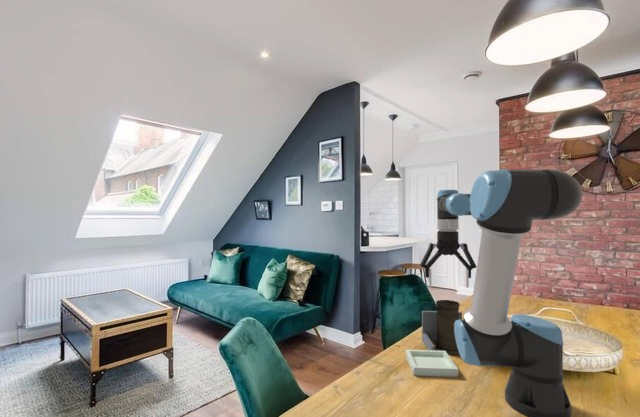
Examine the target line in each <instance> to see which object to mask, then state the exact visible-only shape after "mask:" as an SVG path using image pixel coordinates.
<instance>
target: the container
mask: <svg viewBox="0 0 640 417" xmlns="http://www.w3.org/2000/svg"><path fill="white" fill-rule="evenodd" d="M435 305H436V308H437V309H436V311H437V340H436V342H435V345H434V346H435V350H438V351H446V352H447V354H448V355H449V356H450V355H452V356H453V355H454V356H455V355H460V354H459V351H458V348H457V344H456V339H455V333H454V323H455V321H456V320H459V314H458V312H460V311H459V310H460V306H461V304H460V303H459V302H458V301H455V300H452V299H451V300H450V299H440V300H439V299H438V300H436V301H435Z"/></svg>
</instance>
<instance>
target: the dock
mask: <svg viewBox="0 0 640 417" xmlns="http://www.w3.org/2000/svg"><path fill="white" fill-rule="evenodd" d="M458 314H459V319H461V320H463V312H462V311H458ZM436 340H437V310H421V342H422V343H423V345H424V346H425V348H426V350H436V347H435V346H436V345H434V343H436Z"/></svg>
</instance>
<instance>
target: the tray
mask: <svg viewBox="0 0 640 417" xmlns="http://www.w3.org/2000/svg"><path fill="white" fill-rule="evenodd" d="M405 358H406V361H407V363H408V366H409V368H410V370H411V372H412V375H413V376H418V377H419V376H420V377H442V378H443V377H447V378H459V373H460V372H459V367H458V366H457V365H456V364H455V362H454V361H453V359H452V358H451V357H450V355H449V354H447V352H446V351H438V350H436V349H435V350H427V349H406V348H405Z"/></svg>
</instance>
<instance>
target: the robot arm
mask: <svg viewBox="0 0 640 417" xmlns="http://www.w3.org/2000/svg"><path fill="white" fill-rule="evenodd" d="M436 194H437V196H436V202H437V203H436V205H437V206H436V213H437V214H436V215H437V226H436V228H437V232H436V233H437V234H436V238H437V241H436V243H432V242H429V243H428V245H427V246H428V247H427V250H426V252H425V254H424V255H423V257H422V259H421V262H420V264H419V266H420V267H421V268H423V269H424V276H425V278H426V279H427V286H428V287H429V288H431V287H432V269H431V267H432V266H433V265H434V264H435V263H436V262H437V260H438V259H439V258H440V257H442V256H455V257H456V258H457V259H458V260H459V262H460V263H461V264H462V265H463V267H464V268H463V286H464V287H465V288H468V289H469V279H471V278H472V271H473V269H476V272H475V277H474V284H473V290H472V291H473V292H472V299H471V305H470V307H468V308H467V309H466V310H465V311H464V314H463V318H462V320H461V319H459V320H456V321H455V323H454V333H455V339H456V344H457V348H458V351H459V354H458V355H459V356H460V358H461V360H462V362H464V363H465V364H466V365H469V366H475V367H476V366H477V367H502V368H503V367H504V368H505V367H506V368H507V367H508V368H511V372H510V374H509V377H508V380H507V382H506V383H505V384H506V385H505V388H504V400H505V402H506V403H507V404H508V406H510V407H511V408H512V409H513V410H515V411H517V412H519V413H521V414H522V415H525V416H527V417H572V404H571V401H570V398H569V396H568V393H567V390H566V387H565V384H564V378H563V377H564V375H563V374H564V373H563V372H564V368H563V367H564V366H563V364H564V359H563V358H564V355H563V353H564V349H563V348H564V339H563V332H562V329H561V328H560V326H558V325H557V324H555V323H554V322H552V321H549V320H546V319H543V318H541V317H537V316H532V315H528V314H522V313H521V314H520V313H517V314H512V315H511V317H508V312H509V308H510V302H511V296H512V291H513V286H514V280H515V275H516V270H517V264H518V259H519V255H520V254H519V253H520V248H521V242H522V237H523V236H525V235H527V234H529V233H531V230H532V226H533V221H542V220H543V221H546V220H547V221H549V220H556V219H557V220H558V219H561V218H565V217H567V216H569V215H571V214H572V213H574V212H575V211H576V210H577V208H578V207H579V206H580V204H581V202H582V199H583V190H582V187H581V185H580V183H579V182H578V180H577V179H576V178H574V177H573V176H572V175H570V174H569V173H567V172H564V171H561V170H557V169H505V168H502V169H499V170H498V169H497V170H495V169H494V170H487V171H484V172H482V173H481V174H480V175H479V176H478V177H477V178H476V180H475V181H474V182H473V185H472V188H471V191H470V193H462V192H461V193H459V191H458V190H457V189H440V190H438V191H437V193H436ZM461 216H472V217H473V218H474V219H475V220H476V225H477V227H479V228H480V230H481V237H480V243H479V249H478V250H479V251H478V255H477V256H478V257H477V262H476V263H475V260H474V259H473V257H472V255H471V253H470V250H469V247H468V244H467V243H466V242H465V243H464V242H462V243H459V231H458V230H459V217H461ZM436 248H437V250H436V252H435V253H434V255H433V256H432V257H431V255H432V253H433V250H434V249H436ZM460 249H461V250H462V251H463V254H464V255H465V258H466V259H464V257H463V256H462V255H461V254H460V252H459V251H458V250H460ZM429 258H430V260H429ZM466 260H467V261H466ZM509 318H510V319H509Z"/></svg>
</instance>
